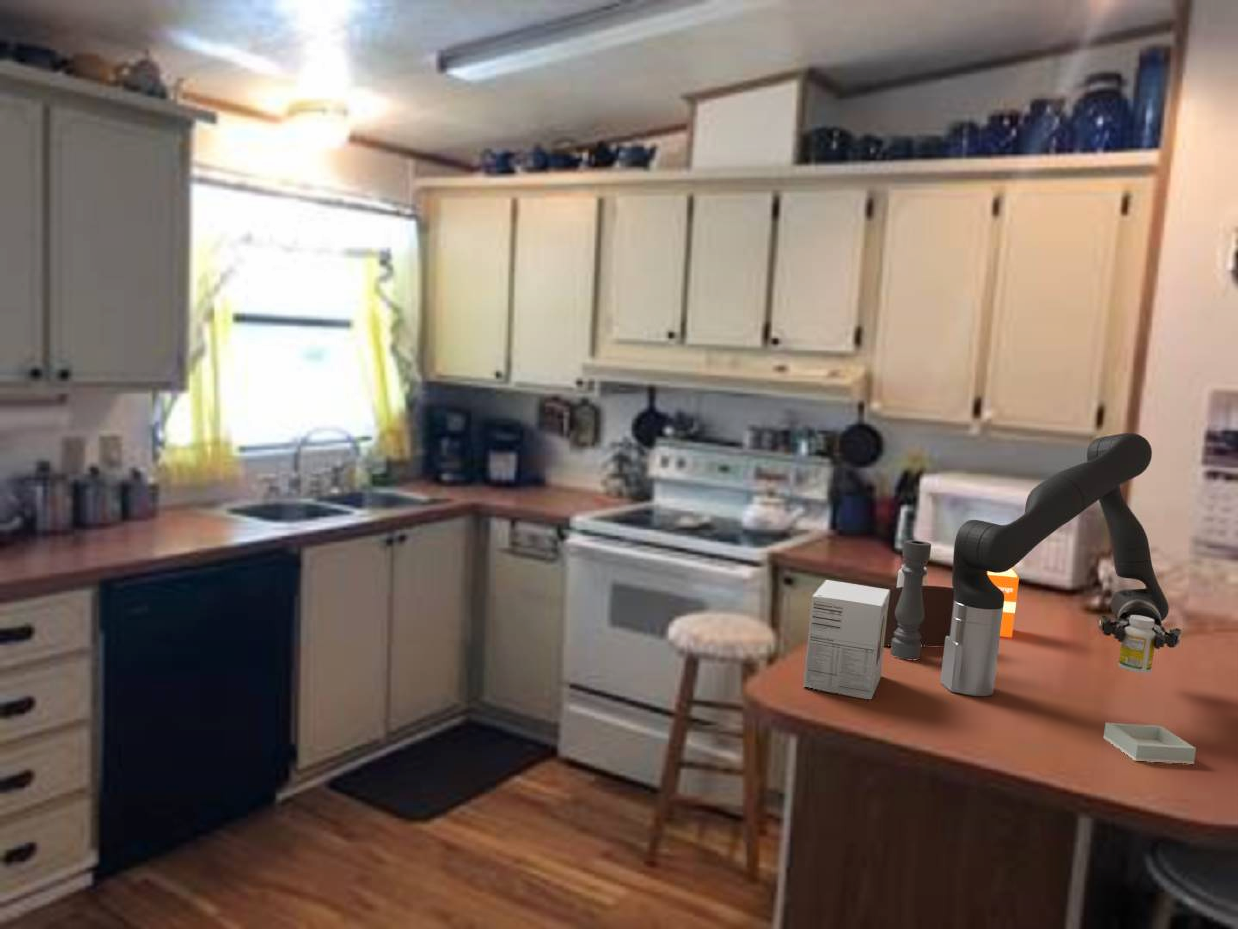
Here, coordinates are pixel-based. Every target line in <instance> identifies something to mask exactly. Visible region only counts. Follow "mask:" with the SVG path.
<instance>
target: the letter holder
mask: <svg viewBox="0 0 1238 929" xmlns="http://www.w3.org/2000/svg"><path fill="white" fill-rule="evenodd" d="M888 590H890V597H889V604H888V611H887V620H886V629H885V638H884V646H888V645H889V646H891V643H892V638H894V637H895V636H894V631H896V629H897V628H898V627H899V625H898V623H899V622H898V621H897V619H896V616H895V610H896V607H897V604H898V601H899V599H900V596H901V593H902V590H903V587H898V588H897V587H892V588H890V589H888ZM922 599H923V607H924V614H925V616H924V620H923V621H922V623H921V624H919V628H918V629H917V630H918V632H919V634H920V635H921V639H920V640H919V641H920V642H921V645H922V646H924V645H925V646H944V645H945V637H946V636H950V628H951V619H952V611H953V602H954V590H953V587H949V586H947V587H946V586H938V585H937V586H936V585H928V586H922Z"/></svg>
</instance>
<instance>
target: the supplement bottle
mask: <svg viewBox="0 0 1238 929" xmlns="http://www.w3.org/2000/svg"><path fill="white" fill-rule="evenodd" d="M1129 624H1130V626H1127V627H1125V629H1124V633H1123V640H1122V642H1121V646H1120V652H1119V659H1118V666H1119V668H1121V669H1123V670H1125V671H1128V672H1131V673H1136V674H1149V673H1151V671H1152V665H1153V660H1154V654H1155V641H1156V633H1155V632H1154V631H1153V630H1151V629H1152V628H1153V627H1154V619H1152V618H1149V617H1145V616H1140V615H1131V616H1130V619H1129Z"/></svg>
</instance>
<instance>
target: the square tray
mask: <svg viewBox="0 0 1238 929" xmlns="http://www.w3.org/2000/svg"><path fill="white" fill-rule="evenodd" d="M1103 739H1104V740H1106V742H1108V743H1109V742H1110V743H1109V744H1111V745H1112V744H1113V745H1112V746H1113V747H1115V748H1116V749H1118V748H1119V749H1120V750H1121V751H1120V750H1119V749H1118V750H1119V751H1120V752H1122V753H1123V752H1124V753H1125V755H1126V754H1127V755H1128V756H1129V757H1128V756H1127V755H1126V756H1127V757H1128V758H1130V757H1131V758H1132V759H1131V758H1130V759H1131V760H1132V761H1134V760H1135V761H1147V762H1146V763H1154V762H1167V763H1166V764H1172V763H1183V764H1182V765H1185V764H1184V763H1187V764H1186V765H1190V764H1195V759H1196V753H1197V752H1196V750H1197V748H1196V747H1194V746H1193V745H1192V744H1189V743H1188V742H1187V741H1185V740H1184V739H1182V738H1181V737H1179V736H1178V735H1176V734H1174V733H1173V732H1171V731H1169V730H1168V729H1166V728H1165V727H1164V726H1162V725H1155V724H1154V725H1152V724H1149V725H1148V724H1134V723H1119V722H1118V723H1116V722H1105V725H1104V731H1103ZM1124 753H1123V754H1124ZM1135 761H1134V762H1135ZM1149 761H1150V762H1149ZM1168 762H1169V763H1168ZM1188 763H1189V764H1188Z"/></svg>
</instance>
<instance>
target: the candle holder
mask: <svg viewBox="0 0 1238 929" xmlns="http://www.w3.org/2000/svg"><path fill="white" fill-rule="evenodd" d="M931 550H932V543H930V542H926V541H922V540H918V539H917V540H915V539H906V540H903V545H902V554H901V556H902V557H903V558H902V560H903V561H904V564H905V565H906V566H905V567H904V568H902V567H901V568H902V572H903V573H904V585H903V590H902V593H901V596H900V599H899V601H898V604H897V607H896V610H895V616H896V619H897V621H898V622H899V623H898V625H899V627H898V628H897V629H896V631H894V636H895V637H894V638H892V643H891V647H890V651H889V652H890V653H891V654H890V656H891V655H893V656H897V657H899V658H902V659H912V660H913V659H918V658H920V659H921V650H922V647H921V642H920V641H919V640H920V639H921V635H920V634H919V632H918V630H917V629H918V628H919V624H921V623H922V621H923V620H924V616H925V614H924V607H923V599H922V583H923V578H924V576H925V575H927V573H928V572H926V571H927V570H925V569H924V567H926V565H927V564H928V563H929V560H930V559H931ZM893 656H892V657H893ZM902 659H901V660H902Z"/></svg>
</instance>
